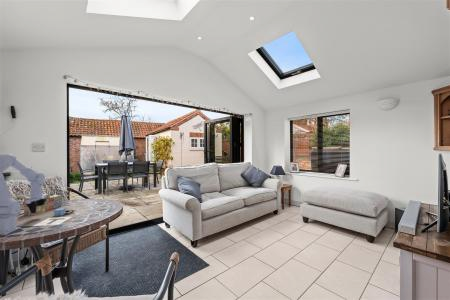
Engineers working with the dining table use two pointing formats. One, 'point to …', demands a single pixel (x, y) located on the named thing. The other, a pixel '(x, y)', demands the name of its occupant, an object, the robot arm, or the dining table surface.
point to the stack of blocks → (49, 203)
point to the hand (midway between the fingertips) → (36, 211)
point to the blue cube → (59, 211)
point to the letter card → (53, 221)
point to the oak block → (39, 210)
